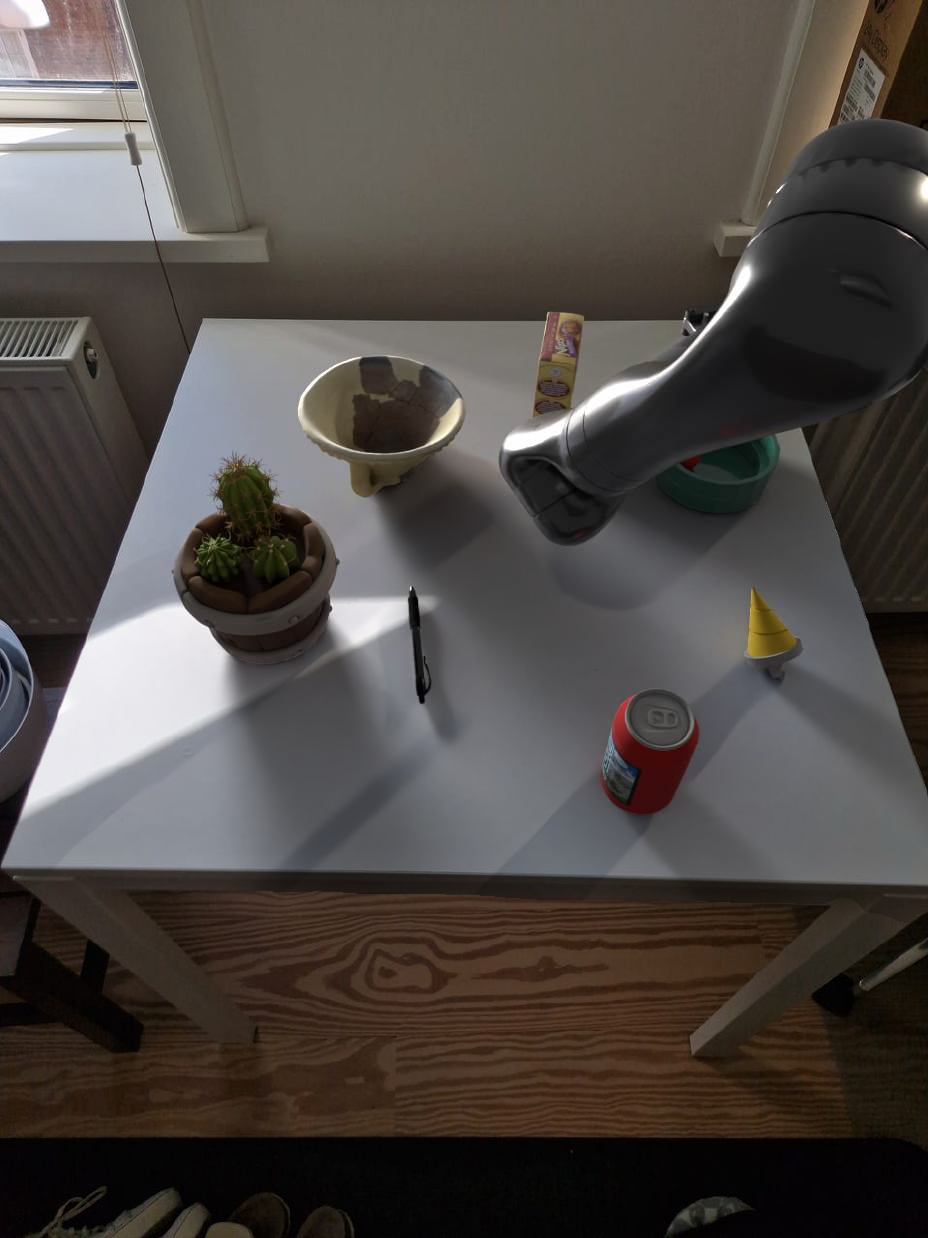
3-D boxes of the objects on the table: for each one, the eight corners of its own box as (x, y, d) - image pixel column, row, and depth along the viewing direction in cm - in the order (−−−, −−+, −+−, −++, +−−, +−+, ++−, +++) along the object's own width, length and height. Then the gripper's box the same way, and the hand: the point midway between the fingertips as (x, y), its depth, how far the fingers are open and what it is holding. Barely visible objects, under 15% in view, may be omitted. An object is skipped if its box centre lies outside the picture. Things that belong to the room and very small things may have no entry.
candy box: (562, 474, 99) (576, 365, 87) (525, 469, 100) (534, 360, 87) (570, 423, 104) (585, 313, 92) (535, 418, 105) (545, 309, 92)
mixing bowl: (772, 448, 102) (785, 416, 98) (760, 527, 94) (773, 495, 90) (662, 426, 104) (670, 393, 100) (642, 501, 97) (650, 468, 93)
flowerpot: (340, 688, 82) (311, 552, 66) (182, 683, 82) (114, 547, 66) (357, 570, 91) (334, 425, 74) (213, 566, 91) (160, 421, 75)
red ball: (698, 459, 100) (704, 440, 97) (695, 477, 98) (700, 457, 96) (673, 454, 100) (678, 435, 98) (669, 471, 99) (674, 452, 96)
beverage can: (598, 746, 78) (615, 677, 69) (672, 751, 78) (700, 683, 68) (599, 816, 74) (617, 753, 65) (677, 821, 74) (707, 759, 64)
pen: (434, 705, 81) (433, 699, 80) (416, 706, 81) (415, 700, 80) (422, 589, 89) (422, 582, 88) (406, 590, 89) (406, 584, 88)
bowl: (432, 538, 93) (430, 475, 86) (285, 497, 97) (269, 433, 89) (485, 435, 103) (487, 370, 95) (349, 401, 107) (341, 335, 99)
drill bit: (749, 697, 82) (717, 602, 80) (762, 675, 86) (733, 583, 84) (805, 690, 79) (774, 590, 77) (817, 667, 83) (787, 572, 81)
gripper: (766, 392, 69) (879, 306, 76) (632, 316, 75) (749, 243, 82) (740, 461, 75) (847, 375, 82) (619, 385, 81) (729, 312, 88)
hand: (798, 309), depth 82 cm, fingers closed on stirring stick, 2 cm apart
